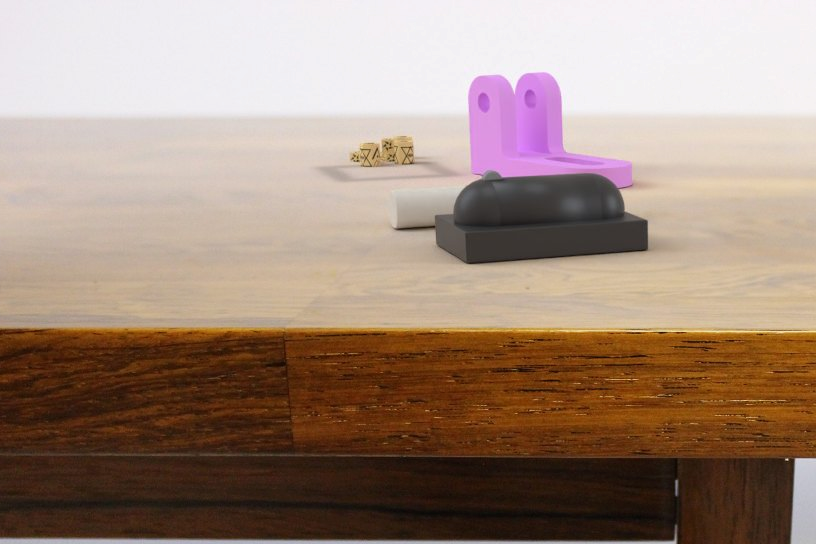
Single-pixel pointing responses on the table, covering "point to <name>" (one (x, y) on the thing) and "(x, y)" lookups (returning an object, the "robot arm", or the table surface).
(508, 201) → the mouse
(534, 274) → the table surface
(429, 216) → the pen
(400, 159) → the dice set
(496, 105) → the bracket
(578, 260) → the table surface
